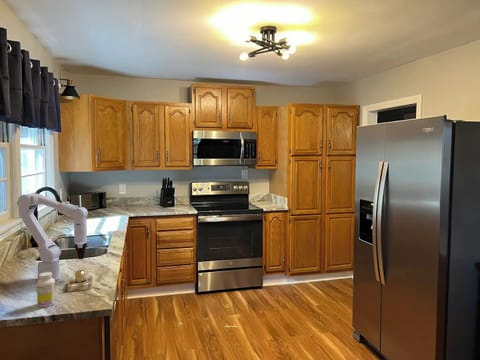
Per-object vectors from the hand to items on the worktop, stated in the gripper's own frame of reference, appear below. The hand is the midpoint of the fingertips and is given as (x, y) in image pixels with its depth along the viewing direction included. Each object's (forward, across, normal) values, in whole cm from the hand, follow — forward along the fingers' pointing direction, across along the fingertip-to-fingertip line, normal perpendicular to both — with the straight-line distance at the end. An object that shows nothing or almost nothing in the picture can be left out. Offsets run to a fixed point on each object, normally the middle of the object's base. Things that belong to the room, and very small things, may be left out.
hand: (81, 258), depth 178 cm
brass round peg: (+10, -12, 0) cm, 15 cm away
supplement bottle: (+10, -29, +12) cm, 33 cm away
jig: (+10, -12, 0) cm, 15 cm away
